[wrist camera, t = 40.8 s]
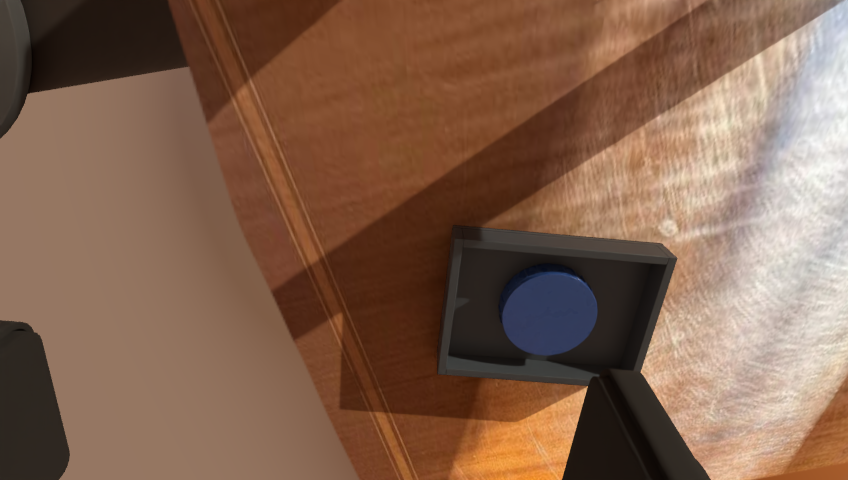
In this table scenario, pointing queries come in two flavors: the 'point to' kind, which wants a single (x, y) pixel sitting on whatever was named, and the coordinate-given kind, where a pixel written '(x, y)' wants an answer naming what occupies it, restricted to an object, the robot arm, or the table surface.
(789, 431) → the table surface
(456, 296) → the tray
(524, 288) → the lid
